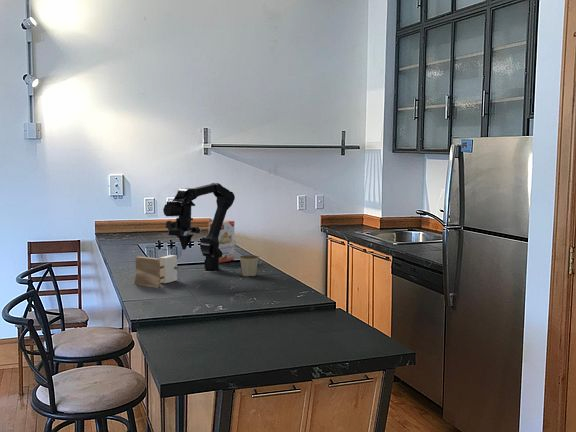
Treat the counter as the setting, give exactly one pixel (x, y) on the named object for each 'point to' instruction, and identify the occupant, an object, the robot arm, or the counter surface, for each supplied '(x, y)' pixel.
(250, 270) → the flower pot
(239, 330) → the counter surface
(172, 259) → the door panel
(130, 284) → the counter surface
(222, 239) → the cracker box
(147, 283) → the cabinet corner
